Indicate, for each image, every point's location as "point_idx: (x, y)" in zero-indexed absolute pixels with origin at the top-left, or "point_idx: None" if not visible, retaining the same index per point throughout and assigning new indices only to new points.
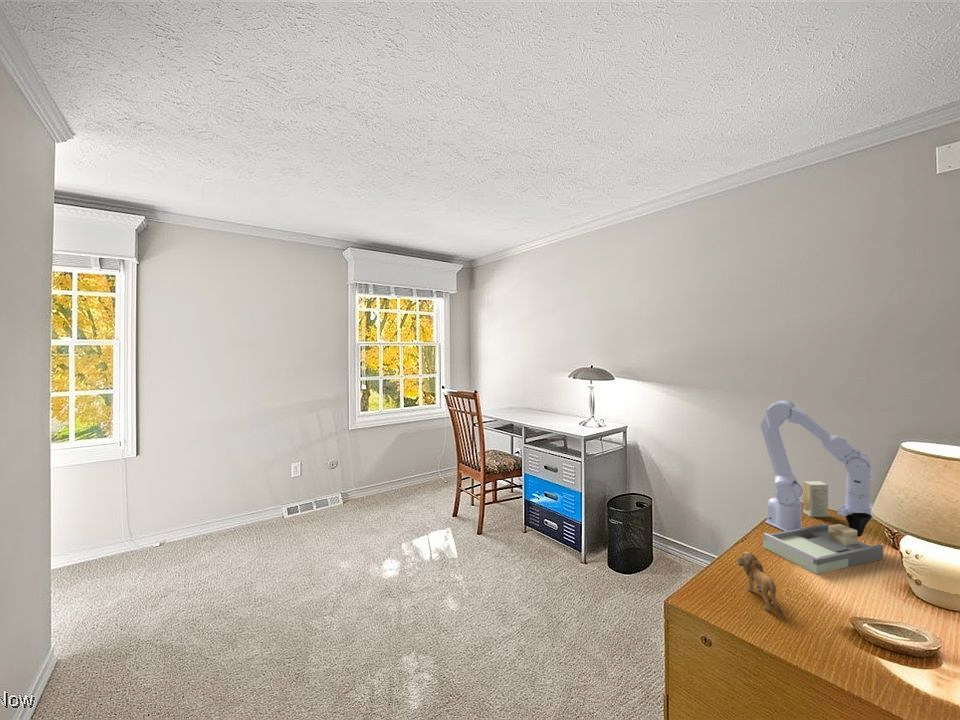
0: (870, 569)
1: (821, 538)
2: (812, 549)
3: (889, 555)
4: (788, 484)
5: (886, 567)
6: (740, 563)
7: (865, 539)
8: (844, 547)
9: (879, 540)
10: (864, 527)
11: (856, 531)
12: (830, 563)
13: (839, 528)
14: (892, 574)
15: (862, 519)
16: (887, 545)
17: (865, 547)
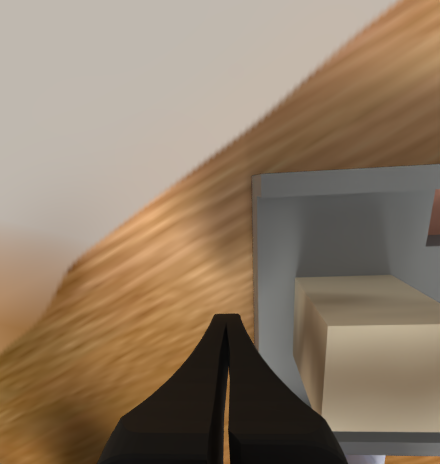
0: (433, 113)
1: None
2: None
3: (179, 194)
4: None
5: (330, 108)
6: None
7: (124, 324)
8: (423, 261)
9: (73, 303)
10: (203, 348)
11: (338, 322)
12: None
13: (419, 386)
14: (388, 41)
15: (308, 423)
16: (86, 263)
17: (407, 188)
